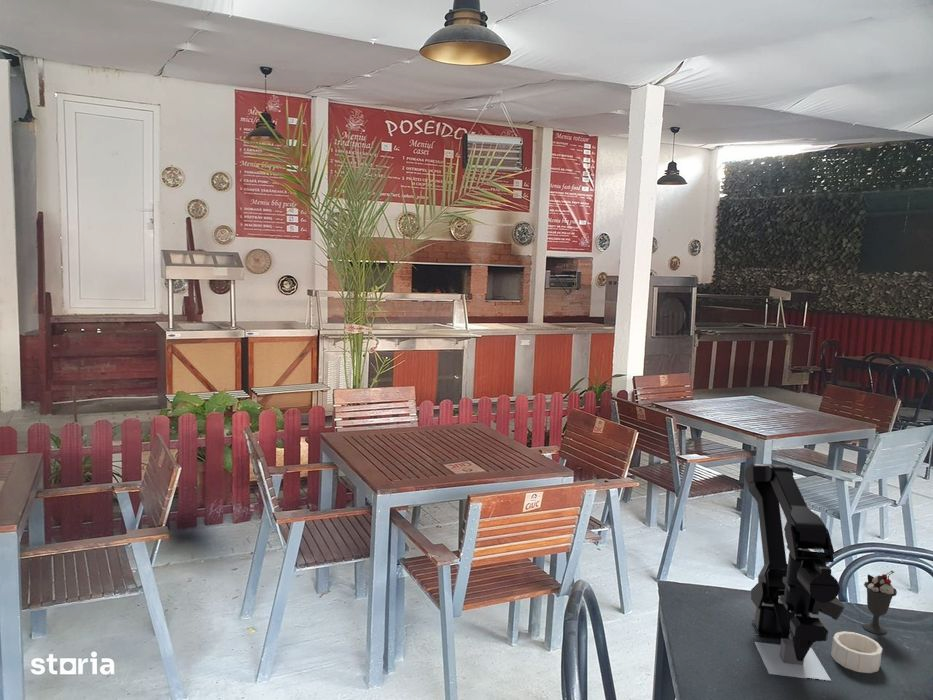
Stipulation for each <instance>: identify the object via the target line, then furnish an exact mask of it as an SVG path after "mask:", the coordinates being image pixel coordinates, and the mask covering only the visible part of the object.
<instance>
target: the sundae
mask: <svg viewBox="0 0 933 700" xmlns="http://www.w3.org/2000/svg"><path fill="white" fill-rule="evenodd" d="M894 573H895V571H893V570H890V571H889V572H887V573H882V575H876V576H873V575H871V574H867V575H866V576H867V581H865V582H864V583H863V586H864V587H865V589H866V604H867V609H868V610H869V612H870V613H871V614H872V615H873V616H872V620H871V622H864V623H863V624H862V626H861V627H862V628H863V629H864V630H865V631H867V632H869V633H872V634H874V635H879V636H880V635H885V634H887V632H888V631H887V629H886V628H885V627H883V626H881V625H880V624H879V619H880V617H882V616H884V615H886V614H887V612H888V611H889V608H890V605H891V601H892V599H893V597H895V596H897V594H898V592H897V589H896V588H894V586H893V585H892V584H891V583H892V580H891V579H890V575H891V574H894Z"/></svg>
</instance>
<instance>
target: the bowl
mask: <svg viewBox="0 0 933 700" xmlns="http://www.w3.org/2000/svg"><path fill="white" fill-rule="evenodd" d="M830 652H831V653H830V656H831V657H832V659H833V661H834V662H836V663H837V664H839V665H840V666H842V667H843V668H845V669H848V670H850V671H853V672H857V673H865V674H872V673H876V672H879V670H880V667H881V662H882V655H883V647H882V646H881V644H879V642H878V641H876V640H874V639H873V638H871V637H869V636H867V635H864V634H860V633H857V632H853V631H844V630H843V631H838V632H835V634H834V636H833V637H832V646H831V651H830Z"/></svg>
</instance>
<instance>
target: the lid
mask: <svg viewBox="0 0 933 700" xmlns="http://www.w3.org/2000/svg"><path fill="white" fill-rule="evenodd" d="M754 644H755V646H756V649H757V651H758V653H759V655H760V658H761V659H762V662H763V664H764V666H765V669H766V670H767V673H768V675H776V676H784V677H793V678H798V679H799V678H801V679H807V678H810V679H809V680H815V679H819V680H818V681H824V680H825V681H824V682H832V680H831V677H830V676H829V675H828V674H829V673H827V671H826V669H825V668H824V666H823V664H822V663H821V661H820V659H819V657H818V656H817V654H816V653H815V651H814V649H813V648H812V647H810V649H809V651H808V652H807V654H806V656H805V658H804V660H803V661H797V659H796V655H795V651H794V647H793V643H792V639H791V638H789V639H785V638H780V644H777V643H767V642H757V641H754ZM811 678H812V679H811Z"/></svg>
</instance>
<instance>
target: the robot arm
mask: <svg viewBox="0 0 933 700" xmlns="http://www.w3.org/2000/svg"><path fill="white" fill-rule="evenodd" d="M744 478H745V482H747V487H748V492H749V493H750V494H751V497H753V499H754V500H755V501H756V504H757V511H758V520H759V529H760V539H761V547H762V556H763V566H762V568H761V570H760V572H759V574H758V576H757V581H758V583H756V584H755V585H754V586H753V587H752V588H751V590H750V600H751V601H752V602H753V604H754V605H755V607H756V608H755V616H754V619H752V620H751V621H752V622H751V623H752V625H753V626H754V629H755V631H756V633H757V634H758V636H760V637H767V638H775V639H781V638H785V639H792V643H793V647H794V651H795V655H796V659H797V661H803V660H804V658H805V656H806V654H807V652H808V651H809V649H810V648H812V646H813V644H814V643H816V642H826V641H828V639H829V638H828V636H829V630H828V629H827V628H826V626H825V624H824V623H823V622H822V620H821V619H819V617H813V616H812V617H811V616H810V614H812V615H817V616H818V615H819V613H821V614H824V615H826V616H828V617H830V618H832V619H833V620H835V621H838V620H839V618H840V616H841V614H842V612H843V611H844V609H845V605H844V604H843V603H842V602H841V600H840V599H839V598H838V595H839V594H840V592H841V591H840V589H841V588H840V583H839V581H838V580H837V578H836V577H835V576H834V575H832V569H831V568H830V567H829V566H827V565H826V564H827V563H834V560H835V559H834V554H835V551H834V546H833V543H832V539H831V535H830V532H829V530H828V528H827V525H826V524H825V523H824V521H823V520H822V518H821V516H819V515H818V514H816V513H815V512H814V511H812V510H811V509H809V507H808V505H807V502H806V501H805V499H804V497H803V494H802V493H801V492H802V491H801V489H800V488H799V486H798V484H797V482H796V480H795V478H794V470H793V468H792V467H791V466H789V465H785V464H776V463H775V464H773V463H755V462H751V463H750V464H749V467H746V468H745V471H744ZM781 509H782V513H783V514H784V517H785V519H786V523H785V526H784V529H783V524H782V523H783V522H782V514H781ZM783 530H784V532H783ZM784 537H785V540H786V541H785V540H784ZM785 542H786V544H787V545H786V548H787V549H788V552H789V553H788V558H787V555H786V548H785ZM811 550H818V551H811ZM819 550H820V551H819ZM821 550H822V551H821ZM787 559H788V560H787Z"/></svg>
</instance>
